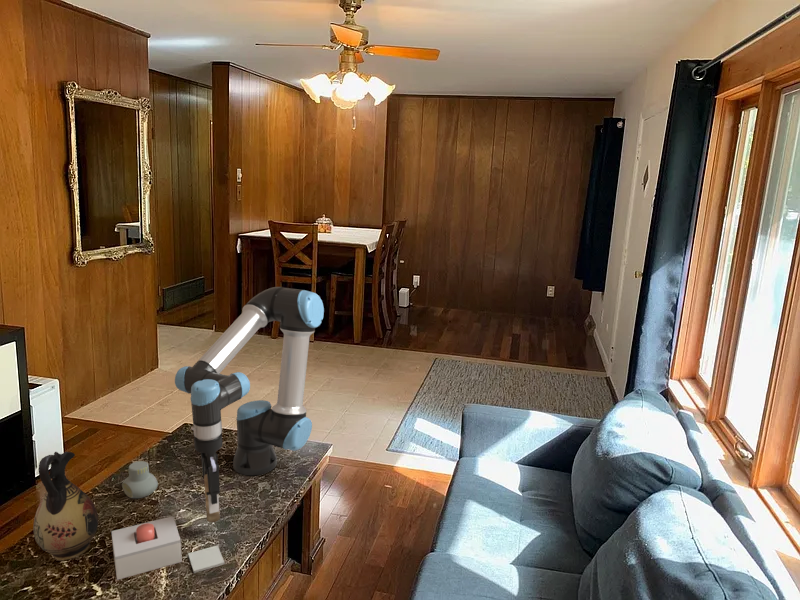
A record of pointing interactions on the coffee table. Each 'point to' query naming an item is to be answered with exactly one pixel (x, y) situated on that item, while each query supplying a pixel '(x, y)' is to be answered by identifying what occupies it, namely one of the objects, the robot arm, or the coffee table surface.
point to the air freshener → (139, 481)
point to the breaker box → (146, 548)
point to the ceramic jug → (63, 512)
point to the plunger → (145, 533)
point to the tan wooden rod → (213, 516)
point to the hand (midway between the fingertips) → (212, 507)
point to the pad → (205, 559)
